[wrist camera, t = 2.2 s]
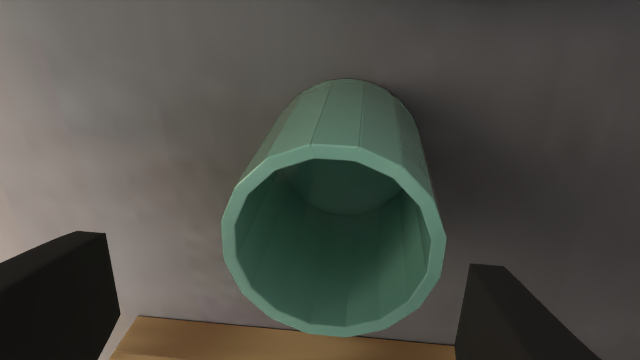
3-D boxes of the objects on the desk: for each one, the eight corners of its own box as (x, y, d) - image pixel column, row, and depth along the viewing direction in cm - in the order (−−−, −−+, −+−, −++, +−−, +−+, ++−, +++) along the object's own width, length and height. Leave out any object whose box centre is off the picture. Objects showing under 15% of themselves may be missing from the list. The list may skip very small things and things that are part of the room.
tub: (429, 82, 16) (460, 153, 10) (412, 221, 18) (430, 346, 12) (272, 74, 16) (214, 137, 10) (274, 211, 19) (227, 326, 13)
